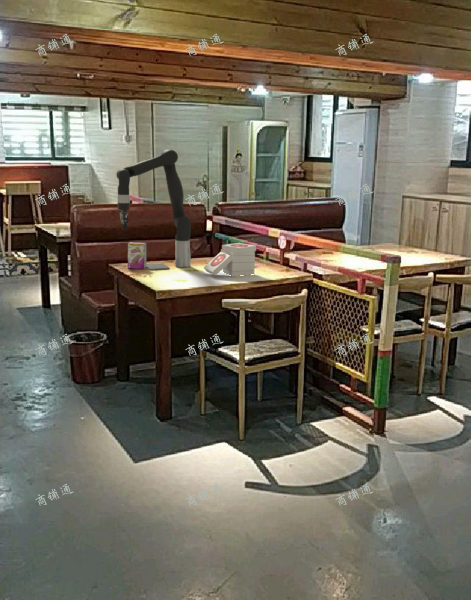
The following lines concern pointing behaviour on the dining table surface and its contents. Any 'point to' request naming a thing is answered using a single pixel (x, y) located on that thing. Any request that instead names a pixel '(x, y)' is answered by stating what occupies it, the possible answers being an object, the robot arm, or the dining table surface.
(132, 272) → the dining table surface
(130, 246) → the candy bar box
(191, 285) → the dining table surface
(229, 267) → the stack of white boxes
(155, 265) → the mat
